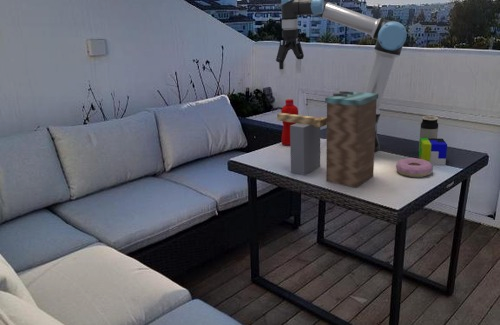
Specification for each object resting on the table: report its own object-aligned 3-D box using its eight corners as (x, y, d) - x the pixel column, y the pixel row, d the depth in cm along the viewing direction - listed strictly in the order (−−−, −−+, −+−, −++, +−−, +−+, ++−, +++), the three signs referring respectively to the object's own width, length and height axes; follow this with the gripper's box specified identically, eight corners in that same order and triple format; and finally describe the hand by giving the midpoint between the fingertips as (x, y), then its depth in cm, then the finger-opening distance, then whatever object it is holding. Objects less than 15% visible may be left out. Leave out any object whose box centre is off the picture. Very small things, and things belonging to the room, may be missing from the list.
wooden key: (274, 121, 203) (274, 114, 202) (283, 118, 208) (283, 112, 207) (319, 127, 188) (319, 120, 187) (328, 123, 193) (328, 117, 193)
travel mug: (427, 156, 213) (430, 120, 207) (415, 152, 220) (417, 117, 214) (439, 153, 216) (442, 118, 210) (427, 149, 223) (430, 115, 217)
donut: (399, 165, 204) (399, 155, 202) (434, 169, 196) (435, 158, 195) (392, 176, 191) (392, 165, 189) (429, 180, 184) (430, 169, 182)
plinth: (291, 172, 201) (290, 125, 194) (307, 164, 211) (307, 119, 204) (303, 175, 197) (303, 127, 190) (320, 166, 207) (320, 120, 200)
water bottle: (299, 141, 250) (299, 97, 242) (297, 146, 240) (296, 101, 232) (283, 140, 252) (282, 97, 244) (280, 146, 242) (279, 101, 234)
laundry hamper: (324, 181, 188) (325, 95, 177) (343, 170, 201) (345, 88, 189) (356, 188, 179) (359, 98, 167) (374, 176, 191) (378, 91, 180)
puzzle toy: (445, 165, 200) (447, 144, 197) (422, 165, 202) (423, 144, 199) (440, 158, 209) (442, 138, 206) (418, 158, 211) (420, 138, 208)
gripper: (297, 27, 220) (298, 70, 226) (267, 30, 202) (269, 77, 208) (310, 27, 215) (310, 71, 222) (280, 30, 197) (282, 78, 204)
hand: (290, 74), depth 215 cm, fingers open, 13 cm apart
